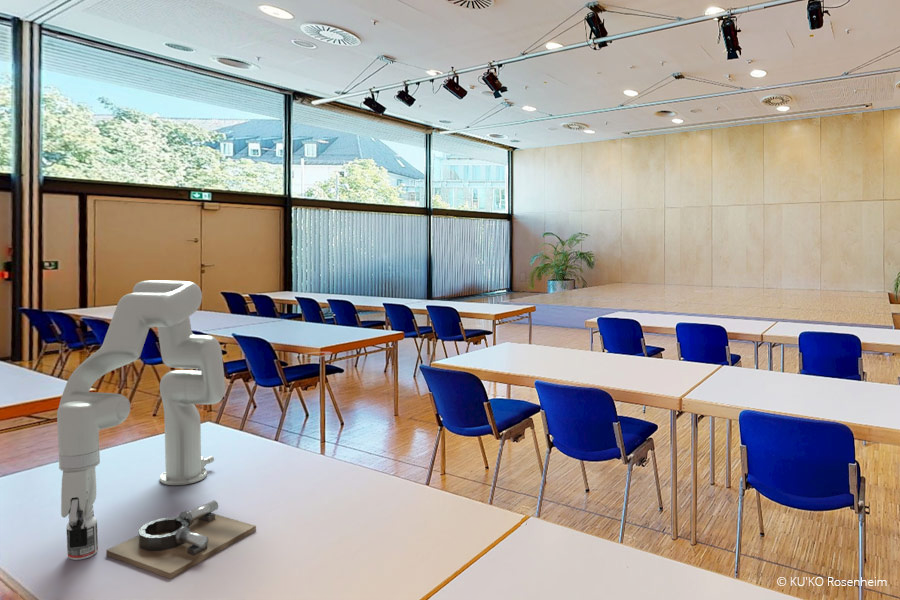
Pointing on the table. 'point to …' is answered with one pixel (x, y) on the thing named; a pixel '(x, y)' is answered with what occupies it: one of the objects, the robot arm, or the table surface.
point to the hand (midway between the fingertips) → (82, 538)
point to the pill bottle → (92, 538)
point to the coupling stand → (180, 540)
